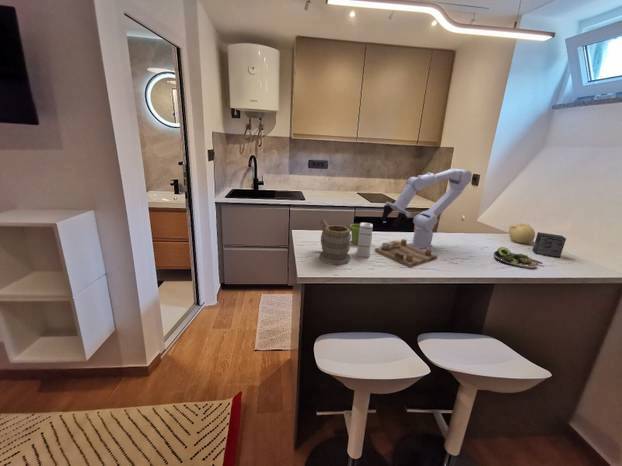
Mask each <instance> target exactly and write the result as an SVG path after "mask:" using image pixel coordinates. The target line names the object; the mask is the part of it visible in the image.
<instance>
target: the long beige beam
mask: <svg viewBox="0 0 622 466" xmlns="http://www.w3.org/2000/svg"><path fill="white" fill-rule="evenodd" d="M400 246H401V240H398V239H397V240H391V241H388V242H382V243H381V247H382V249H383V250H388V249H392V248H396V247H400Z"/></svg>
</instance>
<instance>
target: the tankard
mask: <svg viewBox="0 0 622 466" xmlns="http://www.w3.org/2000/svg"><path fill="white" fill-rule="evenodd" d="M319 224H320V225H322V232H321V235H320V245H321V252H320V254H319V260H321V261H322V262H324V263H325V264H330V265H335V266H339V265H345V264H349V261H350V260H351V255H350V254H348V253H349V251H350V250H351V248H350V247H351V245H350V241H352V236H351V228H349V227H347V226H345V225H338V224H332V225H331V224H330V225H329V224H328V223H327V221H326V220H325V218H321V219H320V220H319Z"/></svg>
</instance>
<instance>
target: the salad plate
mask: <svg viewBox="0 0 622 466" xmlns="http://www.w3.org/2000/svg"><path fill="white" fill-rule="evenodd" d="M493 258H494V259H496V261H497V262H498V261H499V262H498V263H501V264H503V263H504V265H508V266H511V265H512V266H513V267H516V266H517V267H518V268H524V269H535V268H537V267H538V266H537V265H538V264H541V265H542V264H543V261H542V262H541V261H538V260H536V259H533V258H532V257H531V256H530V257H529V256H528V254H527V255H526V254H523V253H515V252H514V253H513V252H511V250H510V249H509V248H507V247H504V246H501V247H499V248H498V249H497V250H495V251H494V252H493ZM501 259H502V260H501ZM517 263H518V264H517ZM519 263H522V264H519ZM526 264H527V265H528V266H527V265H526Z"/></svg>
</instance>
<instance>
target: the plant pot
mask: <svg viewBox="0 0 622 466" xmlns="http://www.w3.org/2000/svg"><path fill="white" fill-rule="evenodd" d="M349 227H350V234H351V243H352V244H355V245H358V239H359V229H360V223H352V224H351V223H350V225H349Z"/></svg>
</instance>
